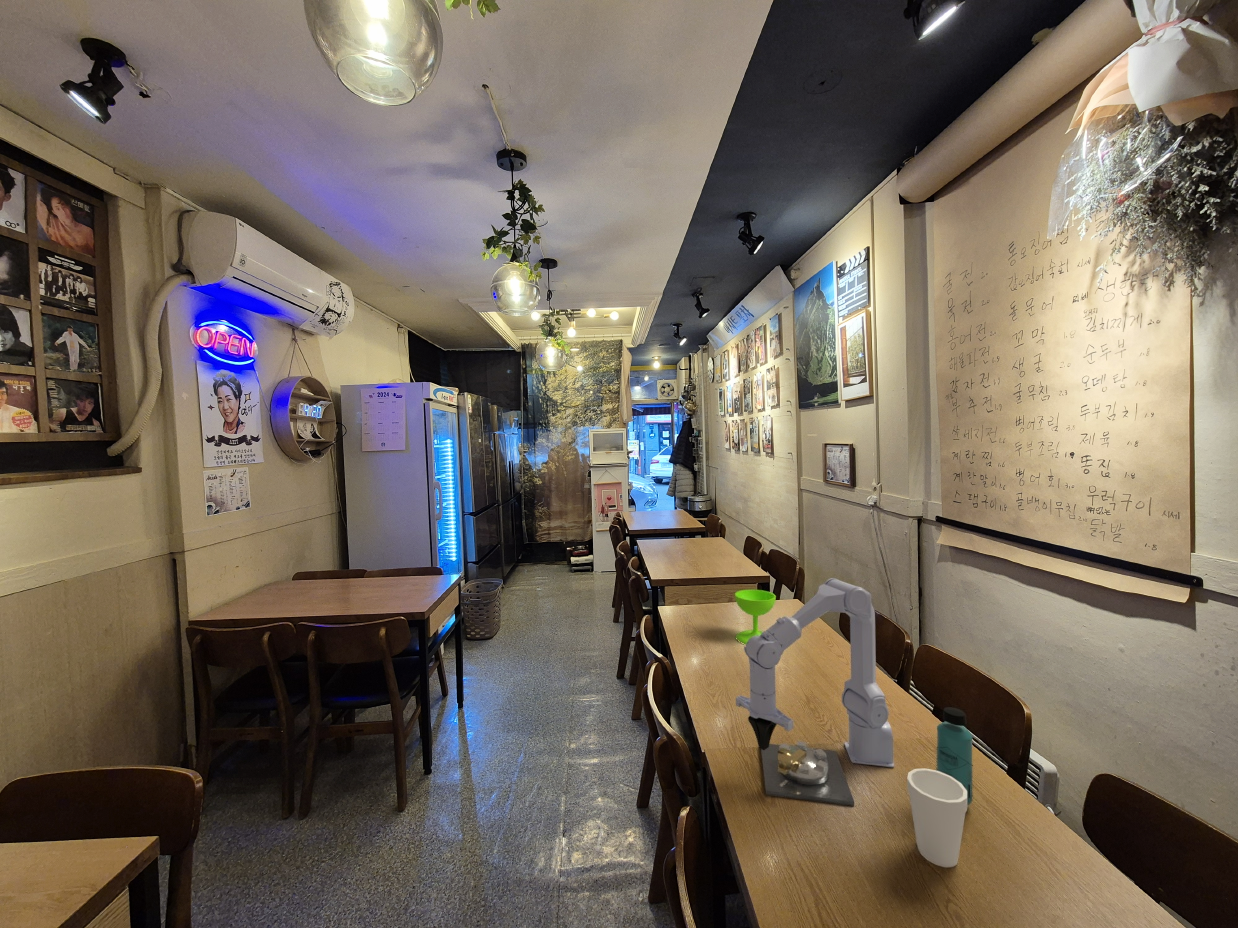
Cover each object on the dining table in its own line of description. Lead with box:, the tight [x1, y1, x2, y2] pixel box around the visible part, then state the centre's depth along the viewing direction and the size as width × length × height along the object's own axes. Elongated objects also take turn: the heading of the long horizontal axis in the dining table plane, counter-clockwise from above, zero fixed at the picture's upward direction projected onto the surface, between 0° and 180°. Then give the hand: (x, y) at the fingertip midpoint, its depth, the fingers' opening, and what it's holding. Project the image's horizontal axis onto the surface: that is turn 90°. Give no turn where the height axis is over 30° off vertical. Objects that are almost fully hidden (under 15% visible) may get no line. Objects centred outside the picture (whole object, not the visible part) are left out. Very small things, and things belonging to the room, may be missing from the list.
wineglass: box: [734, 589, 777, 645], centre depth 196 cm, size 16×16×18 cm
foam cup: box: [906, 767, 968, 868], centre depth 90 cm, size 10×9×13 cm
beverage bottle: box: [935, 706, 974, 807], centre depth 103 cm, size 6×7×20 cm
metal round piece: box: [778, 740, 828, 785], centre depth 112 cm, size 15×11×7 cm
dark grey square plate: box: [760, 743, 855, 807], centre depth 114 cm, size 18×18×1 cm
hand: (763, 747), depth 113 cm, fingers closed
